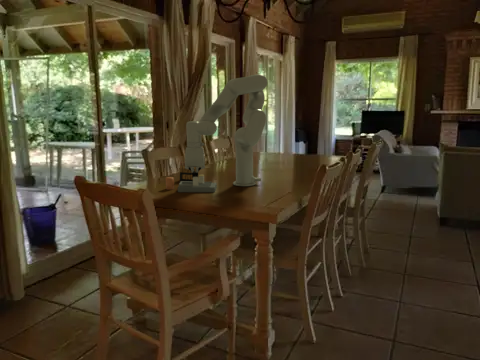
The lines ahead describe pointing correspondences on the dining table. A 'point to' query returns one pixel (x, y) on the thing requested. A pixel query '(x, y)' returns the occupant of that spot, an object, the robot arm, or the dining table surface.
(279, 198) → the dining table surface
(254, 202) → the dining table surface
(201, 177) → the switch tagged
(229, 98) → the robot arm
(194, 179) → the switch
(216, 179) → the dining table surface
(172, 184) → the lockout cap
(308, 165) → the dining table surface
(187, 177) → the ammunition clip
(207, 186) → the panel
